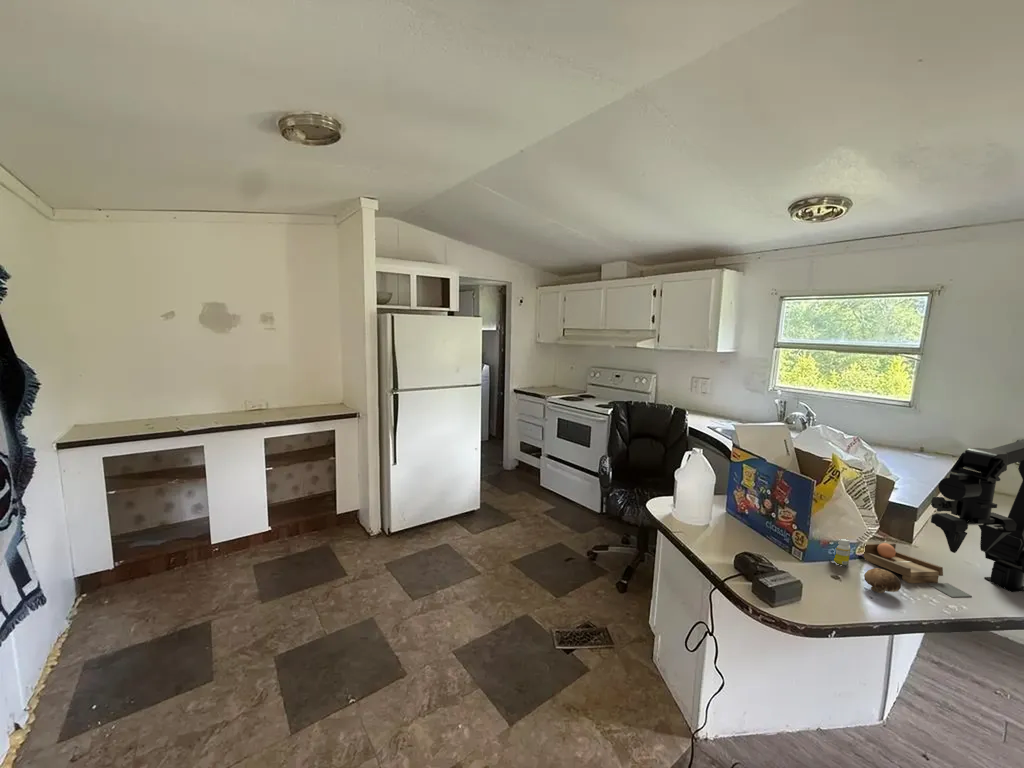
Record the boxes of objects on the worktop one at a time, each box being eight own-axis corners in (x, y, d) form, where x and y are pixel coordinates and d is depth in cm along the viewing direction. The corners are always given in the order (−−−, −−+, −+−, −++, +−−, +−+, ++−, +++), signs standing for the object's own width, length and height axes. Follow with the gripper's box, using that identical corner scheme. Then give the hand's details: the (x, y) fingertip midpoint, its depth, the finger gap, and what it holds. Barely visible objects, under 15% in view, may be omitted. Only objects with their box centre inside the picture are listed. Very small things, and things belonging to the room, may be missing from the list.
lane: (889, 555, 137) (891, 541, 137) (941, 584, 122) (944, 568, 121) (858, 556, 136) (860, 542, 136) (906, 585, 121) (908, 569, 120)
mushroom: (854, 584, 121) (857, 563, 120) (883, 585, 120) (886, 564, 120) (877, 601, 113) (880, 579, 112) (908, 603, 112) (912, 580, 112)
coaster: (947, 584, 122) (947, 582, 121) (971, 597, 116) (971, 595, 116) (928, 584, 121) (928, 583, 121) (951, 598, 115) (951, 596, 115)
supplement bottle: (829, 557, 135) (832, 532, 134) (848, 563, 132) (851, 537, 131) (828, 564, 131) (831, 538, 130) (848, 569, 128) (851, 543, 127)
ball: (887, 540, 135) (900, 547, 131) (884, 553, 136) (898, 561, 131) (874, 540, 134) (887, 548, 130) (872, 553, 135) (885, 561, 131)
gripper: (973, 485, 123) (965, 536, 125) (914, 486, 121) (907, 538, 123) (1022, 500, 112) (1012, 556, 114) (958, 501, 110) (949, 558, 112)
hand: (968, 551), depth 116 cm, fingers open, 9 cm apart
